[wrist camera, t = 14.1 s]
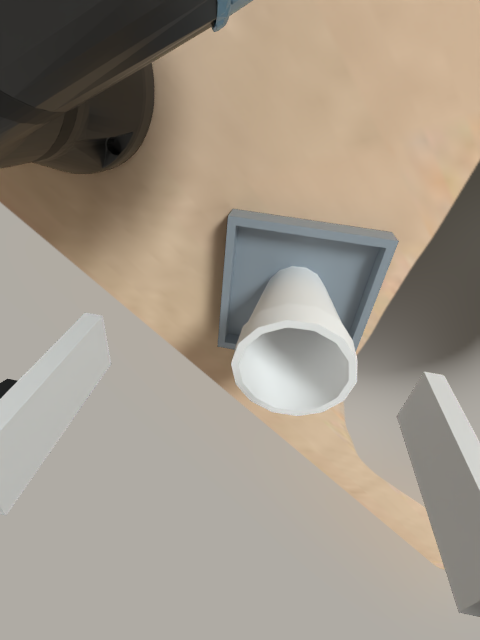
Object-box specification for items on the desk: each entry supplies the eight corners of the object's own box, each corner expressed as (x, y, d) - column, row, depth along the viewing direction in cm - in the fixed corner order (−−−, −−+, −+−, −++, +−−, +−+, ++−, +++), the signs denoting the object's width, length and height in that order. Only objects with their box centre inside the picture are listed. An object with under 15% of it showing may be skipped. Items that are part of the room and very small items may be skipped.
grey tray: (222, 334, 41) (217, 346, 38) (232, 208, 32) (228, 215, 30) (345, 356, 39) (348, 370, 37) (391, 232, 31) (398, 241, 29)
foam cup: (246, 256, 34) (221, 323, 23) (338, 246, 32) (358, 315, 21) (259, 331, 38) (243, 415, 28) (339, 326, 36) (356, 416, 26)
